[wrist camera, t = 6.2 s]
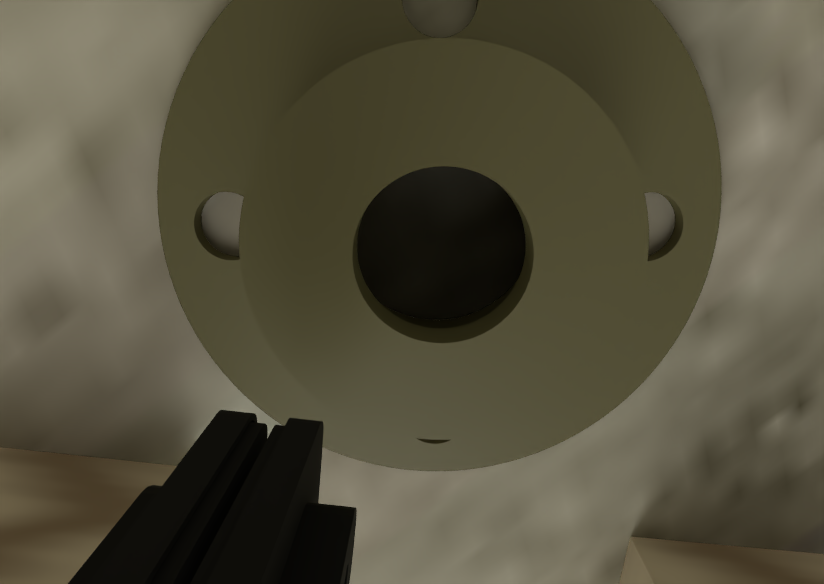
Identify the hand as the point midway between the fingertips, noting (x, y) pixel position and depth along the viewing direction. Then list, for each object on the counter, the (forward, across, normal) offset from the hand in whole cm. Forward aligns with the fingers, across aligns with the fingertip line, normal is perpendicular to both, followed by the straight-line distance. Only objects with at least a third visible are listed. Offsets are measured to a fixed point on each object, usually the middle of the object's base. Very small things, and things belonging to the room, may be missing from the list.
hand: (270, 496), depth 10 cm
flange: (+8, -2, -4) cm, 9 cm away
